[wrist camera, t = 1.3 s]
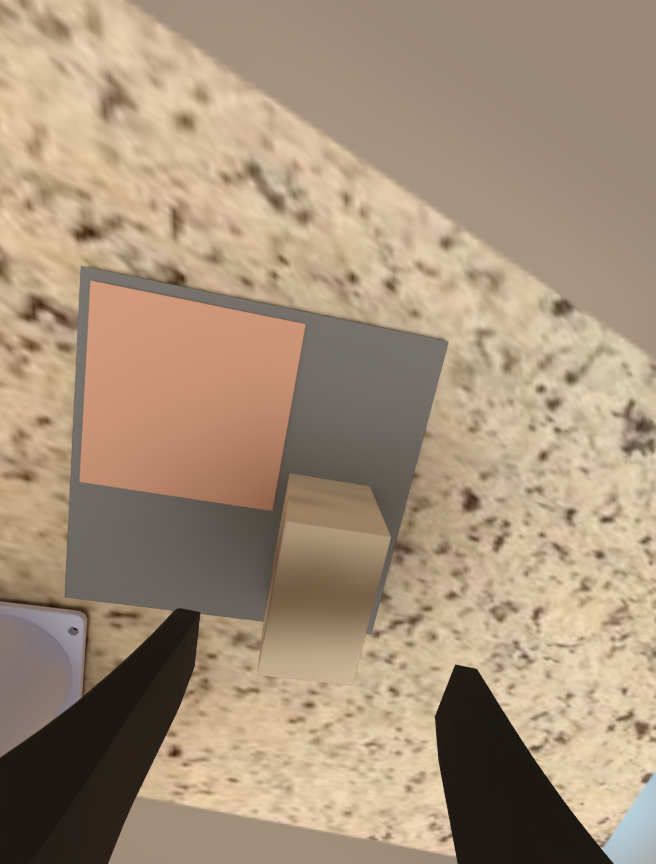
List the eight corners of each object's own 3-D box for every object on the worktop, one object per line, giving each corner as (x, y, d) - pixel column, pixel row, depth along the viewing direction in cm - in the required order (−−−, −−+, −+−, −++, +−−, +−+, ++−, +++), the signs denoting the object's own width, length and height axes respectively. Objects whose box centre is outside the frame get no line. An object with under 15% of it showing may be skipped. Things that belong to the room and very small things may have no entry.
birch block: (341, 606, 23) (352, 685, 18) (266, 597, 22) (257, 675, 17) (369, 486, 21) (390, 536, 16) (289, 473, 20) (286, 521, 16)
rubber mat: (370, 629, 24) (371, 637, 23) (69, 592, 22) (62, 599, 21) (445, 341, 20) (450, 341, 19) (85, 266, 18) (78, 265, 17)
